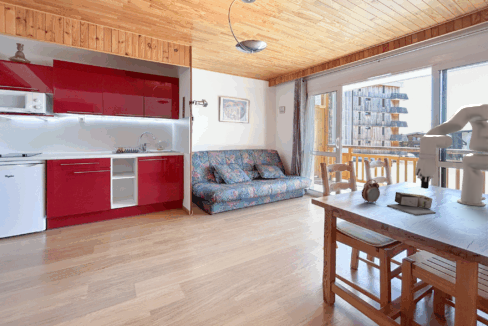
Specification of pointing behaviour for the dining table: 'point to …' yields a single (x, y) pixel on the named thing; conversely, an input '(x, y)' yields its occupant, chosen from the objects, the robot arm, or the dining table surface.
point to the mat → (411, 209)
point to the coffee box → (413, 200)
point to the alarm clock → (371, 192)
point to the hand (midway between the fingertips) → (424, 188)
